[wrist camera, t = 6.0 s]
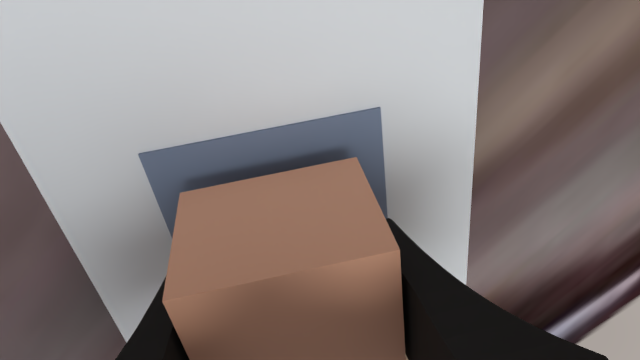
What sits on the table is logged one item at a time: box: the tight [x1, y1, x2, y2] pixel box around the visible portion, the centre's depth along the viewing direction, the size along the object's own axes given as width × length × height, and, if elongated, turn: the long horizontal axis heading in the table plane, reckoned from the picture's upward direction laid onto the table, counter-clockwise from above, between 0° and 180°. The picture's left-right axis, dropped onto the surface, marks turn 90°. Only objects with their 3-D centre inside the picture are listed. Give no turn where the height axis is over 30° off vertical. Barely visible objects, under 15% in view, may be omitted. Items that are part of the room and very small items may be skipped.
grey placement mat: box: [0, 0, 484, 343], centre depth 15 cm, size 13×20×1 cm, turn 7°
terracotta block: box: [162, 157, 406, 360], centre depth 13 cm, size 5×5×4 cm
